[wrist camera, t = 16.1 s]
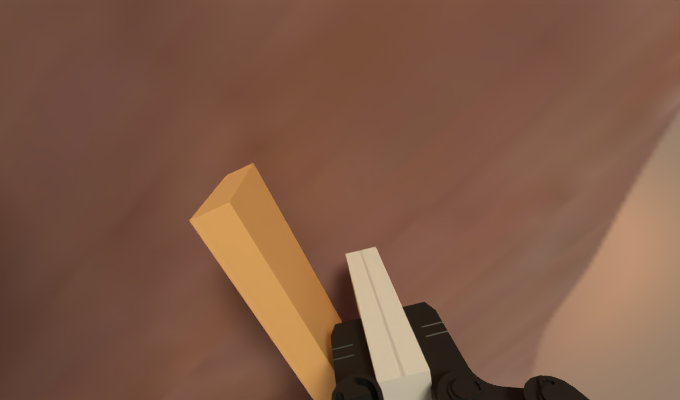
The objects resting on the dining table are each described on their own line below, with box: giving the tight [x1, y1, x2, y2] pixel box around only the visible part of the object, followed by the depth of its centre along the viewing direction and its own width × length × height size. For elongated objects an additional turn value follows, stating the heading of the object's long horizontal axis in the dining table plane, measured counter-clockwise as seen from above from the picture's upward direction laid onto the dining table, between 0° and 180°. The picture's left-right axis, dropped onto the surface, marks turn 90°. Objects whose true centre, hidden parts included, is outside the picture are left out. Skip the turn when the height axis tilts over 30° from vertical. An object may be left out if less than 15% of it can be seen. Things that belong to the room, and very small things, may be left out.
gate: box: [189, 163, 342, 400], centre depth 14 cm, size 20×2×6 cm, turn 24°
